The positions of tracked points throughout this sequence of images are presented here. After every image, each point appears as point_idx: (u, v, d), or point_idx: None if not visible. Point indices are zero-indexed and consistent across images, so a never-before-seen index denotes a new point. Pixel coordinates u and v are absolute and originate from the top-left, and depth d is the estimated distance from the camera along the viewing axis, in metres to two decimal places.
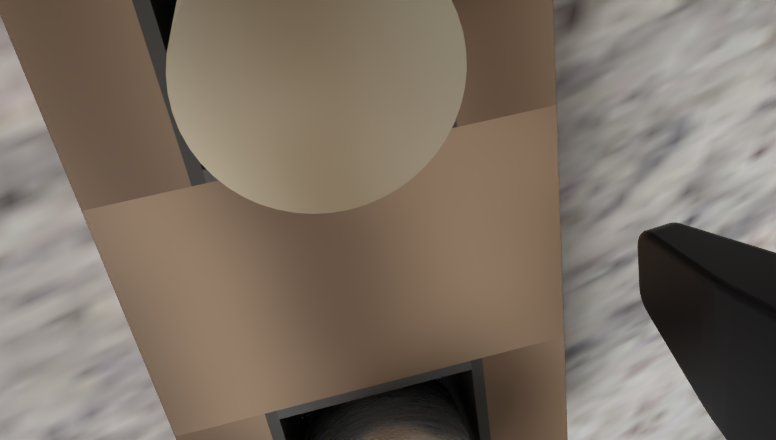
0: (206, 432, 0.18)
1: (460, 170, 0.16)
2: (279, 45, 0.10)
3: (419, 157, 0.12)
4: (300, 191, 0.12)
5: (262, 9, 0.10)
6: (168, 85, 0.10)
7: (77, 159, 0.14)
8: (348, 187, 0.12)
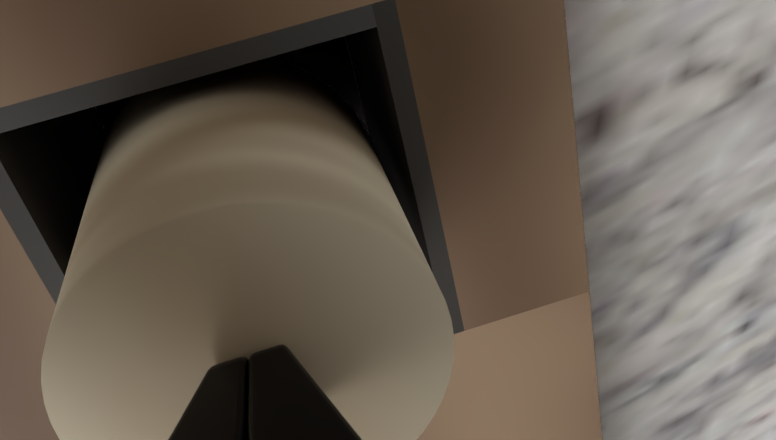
0: None
1: (472, 375, 0.13)
2: (194, 349, 0.08)
3: (400, 439, 0.09)
4: None
5: (165, 315, 0.07)
6: (49, 415, 0.08)
7: None
8: None
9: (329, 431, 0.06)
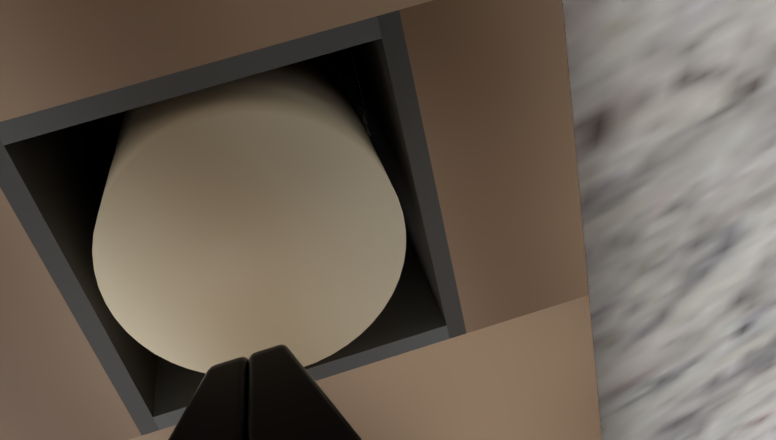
0: None
1: (474, 377, 0.13)
2: (206, 230, 0.10)
3: (366, 314, 0.12)
4: None
5: (185, 202, 0.10)
6: (97, 279, 0.10)
7: None
8: (296, 349, 0.12)
9: (329, 432, 0.06)
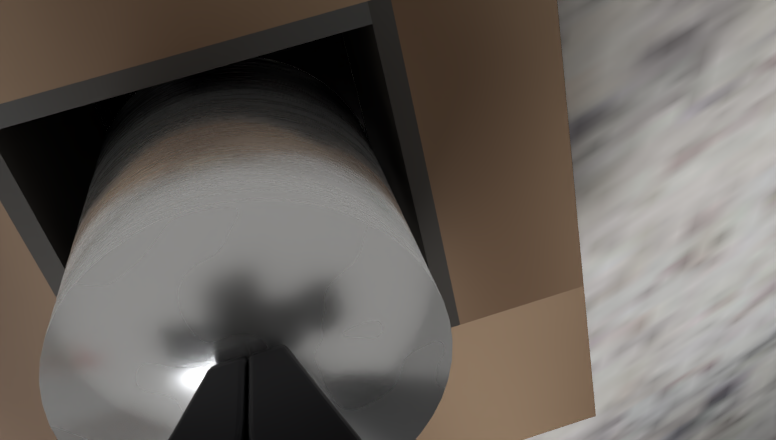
0: None
1: None
2: None
3: None
4: None
5: None
6: None
7: None
8: None
9: (329, 431, 0.06)
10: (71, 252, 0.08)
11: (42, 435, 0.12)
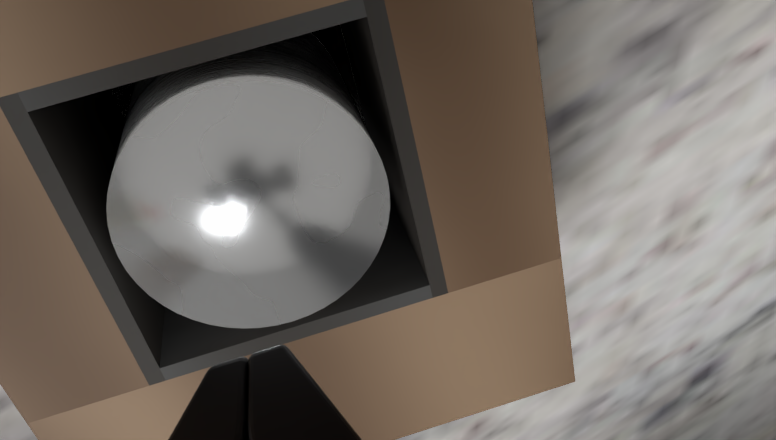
0: None
1: None
2: None
3: None
4: None
5: None
6: None
7: None
8: None
9: (329, 431, 0.06)
10: (124, 129, 0.12)
11: (68, 391, 0.13)
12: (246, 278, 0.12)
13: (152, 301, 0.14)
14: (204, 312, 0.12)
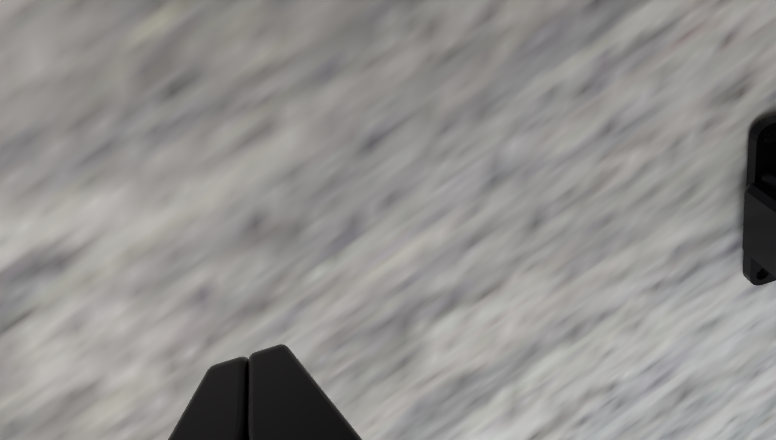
0: None
1: None
2: None
3: None
4: None
5: None
6: None
7: None
8: None
9: (329, 431, 0.06)
10: None
11: None
12: None
13: None
14: None
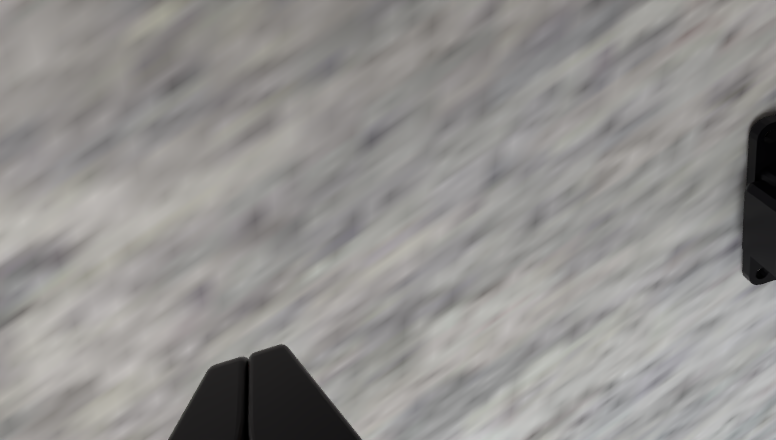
0: None
1: None
2: None
3: None
4: None
5: None
6: None
7: None
8: None
9: (329, 431, 0.06)
10: None
11: None
12: None
13: None
14: None
